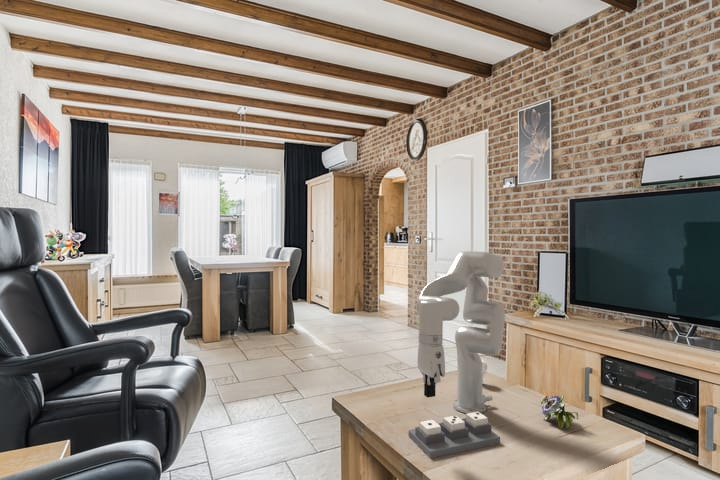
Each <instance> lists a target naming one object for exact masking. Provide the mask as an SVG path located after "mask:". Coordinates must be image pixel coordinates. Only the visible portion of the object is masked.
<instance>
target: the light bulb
mask: <svg viewBox="0 0 720 480" xmlns="http://www.w3.org/2000/svg"><path fill="white" fill-rule="evenodd" d="M481 361H482V365H483V374H482V384H483V383H484V375H486V372H487V371H488V363H487V362H486V361H485V360H484V359H481Z"/></svg>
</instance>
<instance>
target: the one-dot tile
mask: <svg viewBox="0 0 720 480" xmlns="http://www.w3.org/2000/svg"><path fill="white" fill-rule="evenodd" d="M418 427H419V429H420V430H421V431H422V432H423V433H424V434H425V435H426V436H430V435H435V434H440V433H441V426H440V425H439V423H437V422H436V421H435V420H434V419H428V420H424V421H419V422H418Z"/></svg>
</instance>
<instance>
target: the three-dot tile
mask: <svg viewBox="0 0 720 480" xmlns="http://www.w3.org/2000/svg"><path fill="white" fill-rule="evenodd" d="M442 422H443V425H444V426H445V427H447V428H448V429H449V430H450V431H456V430H461V429H465V422H464V421H463V420H462V419H461V418H460V417H459V416H457V415H453V416H452V415H451V416H445V417H442Z"/></svg>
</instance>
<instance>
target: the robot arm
mask: <svg viewBox="0 0 720 480" xmlns="http://www.w3.org/2000/svg"><path fill="white" fill-rule="evenodd" d="M504 270H505V263H504V260H503V258H502V257H501V256H499V255H497V254H494V253H491V252H488V251H473V250H472V251H468V250H467V251H466V250H465V251H461V252H459V253H458V254H456V256H455V257H454V259H453V261H452V262H451V264H450V266H449V268H448V270H447V271H446V273H445V274H444V275H442V276H440V277H438V278H436V279H434V280H433V281H431V282H429V283H428V284H427V285H426V286H424V288H423V289H422V291H421V293H420V295H419V296H418V298H417V301H416V305H415V307H416V309H415V310H416V312H417V314H418V349H417V369H418V370H419V372H420V373H421V375H422V379H423V380H422V381H423V383H424V384H423V385H424V386H423V388H424V389H423V394H424V395H423V396H424V397H426V398H433V397H436V385H437V383H441V381H442V380H441V378H443V377H445V376H446V360H445V359H446V357H445V350H444V345H443V332H444V331H443V329H444V327H443V326H444V325H443V322H445V321H446V322H450V321H453V320H455V319H457V317H458V315H459V313H460V304H459V303H458V301H457V300H456V299H454V298H452V297H451V298H450V297H443V296H447V295H452V294H455V293H459V292H462V291H464V290H466V291H465V296H464V297H465V298H464V301H463V302H464V303H463V310H462V316H463V319H464V321H465V322H466V323H469V324H474V325H479V326H487V327H489V329H488V328H483V327H478V326H472V325H471V326H470V325H466V326H465V325H464V326H460V327H458V328H457V329H456V331H455V334H454V340H455V347H456V356H457V357H456V358H457V359H456V360H457V364H456V365H457V370H456V372H457V373H456V378H457V380H456V383H457V384H456V385H457V386H456V394H457V395H456V399H455V400H453V402H452V406H453V408H454V409H455V410H456V411H458V412H461V413H463V414H464V413H465V414H468V413H473V412H479V413H481V414H483V413H486V411H487V405H486V403H487V402H492V401H493V399H494V398H493V395H487V396H486V394H485V393H484V394H483V383H482V374H483V365H482V361H481V360H482V358H481V356H480V355H479V354H481V355H486V356H492V357H493V356H498V355H499V354H500V352H501V350H502V346H503V340H504V331H505V322H506V311H505V308H504V305H503V304H502V303H500V302H498V301H493V300H492V301H491V300H488V295H489V288H488V286H487V284H486V282H485V281H484V280H483V278H492V279H493V278H494V279H496V278H500V277H501V276H502V275H503V273H504ZM482 277H483V278H482Z"/></svg>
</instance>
